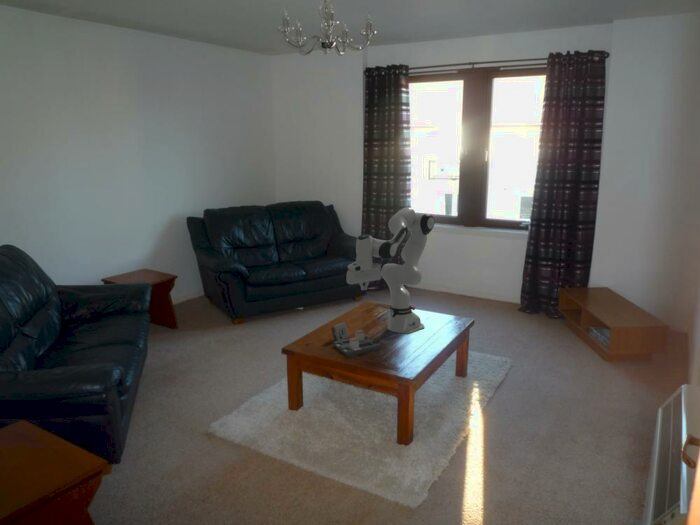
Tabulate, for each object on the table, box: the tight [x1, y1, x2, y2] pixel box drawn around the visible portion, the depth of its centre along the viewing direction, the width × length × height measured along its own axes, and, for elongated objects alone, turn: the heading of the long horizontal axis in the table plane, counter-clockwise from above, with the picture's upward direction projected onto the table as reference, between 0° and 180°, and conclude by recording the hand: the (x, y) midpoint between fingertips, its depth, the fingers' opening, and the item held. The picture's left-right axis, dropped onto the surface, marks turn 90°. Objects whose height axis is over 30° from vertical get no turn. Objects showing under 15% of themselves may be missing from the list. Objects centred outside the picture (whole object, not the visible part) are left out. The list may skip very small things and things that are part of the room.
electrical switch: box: [330, 321, 349, 342], centre depth 291 cm, size 9×5×9 cm, turn 141°
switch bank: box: [333, 334, 382, 357], centre depth 280 cm, size 20×16×3 cm
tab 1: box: [350, 336, 359, 349], centre depth 273 cm, size 4×3×6 cm
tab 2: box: [354, 329, 365, 341], centre depth 284 cm, size 4×3×6 cm
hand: (364, 289), depth 279 cm, fingers closed
